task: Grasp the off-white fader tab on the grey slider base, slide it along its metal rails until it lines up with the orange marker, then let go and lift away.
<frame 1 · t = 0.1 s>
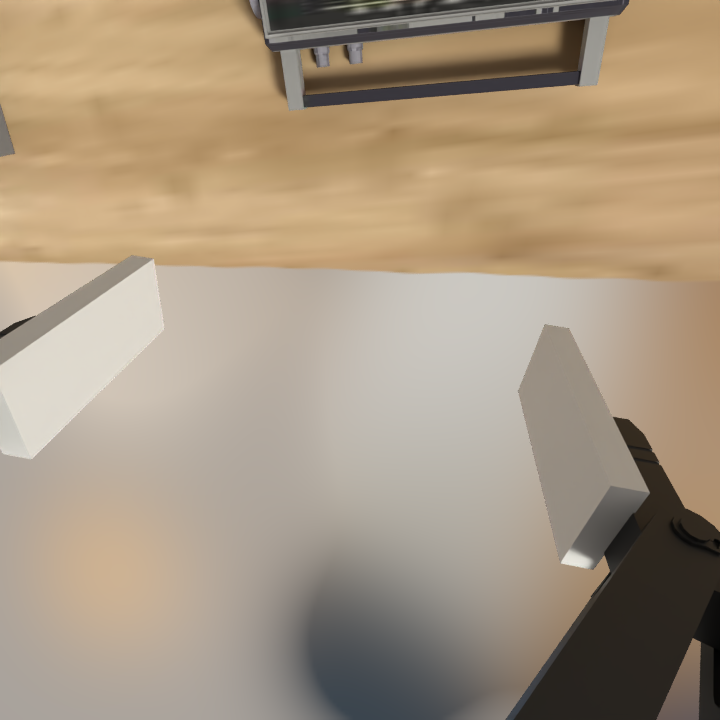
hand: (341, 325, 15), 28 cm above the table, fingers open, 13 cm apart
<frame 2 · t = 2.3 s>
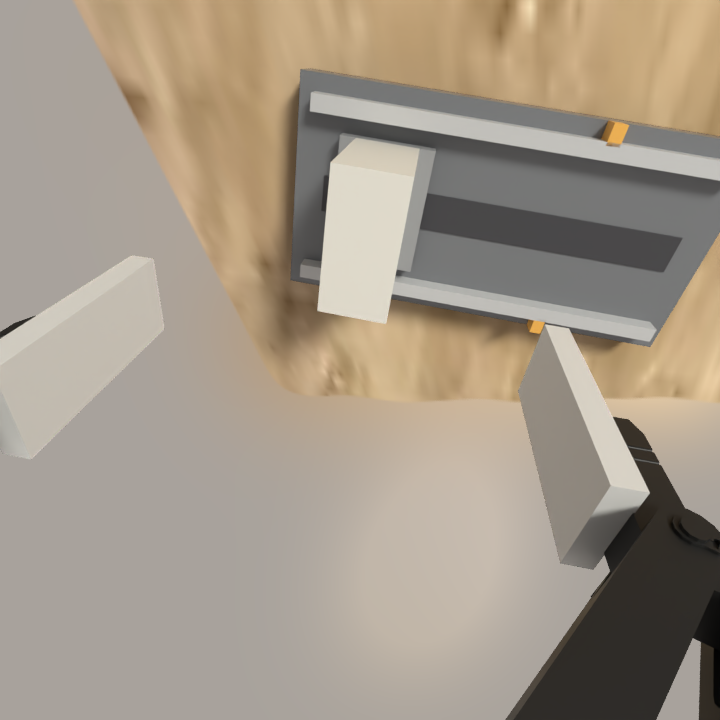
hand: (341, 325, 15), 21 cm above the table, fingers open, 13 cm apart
fader tab: (371, 224, 27), point 7 cm above the table, slide at -8.0 cm
grey slider base: (491, 213, 33), on the table
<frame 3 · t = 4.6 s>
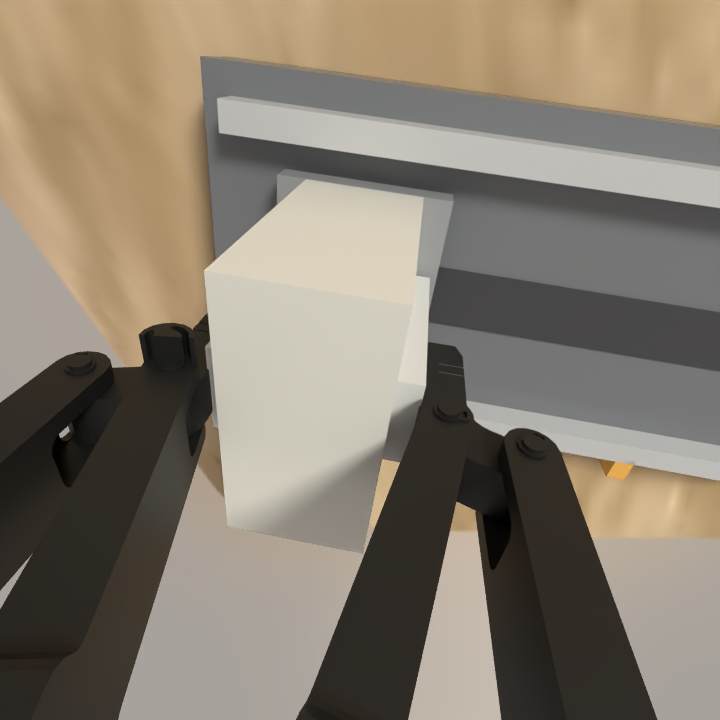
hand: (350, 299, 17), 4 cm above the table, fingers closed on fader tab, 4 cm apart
fader tab: (335, 342, 14), point 7 cm above the table, slide at -8.0 cm, touching gripper
grey slider base: (542, 288, 20), on the table
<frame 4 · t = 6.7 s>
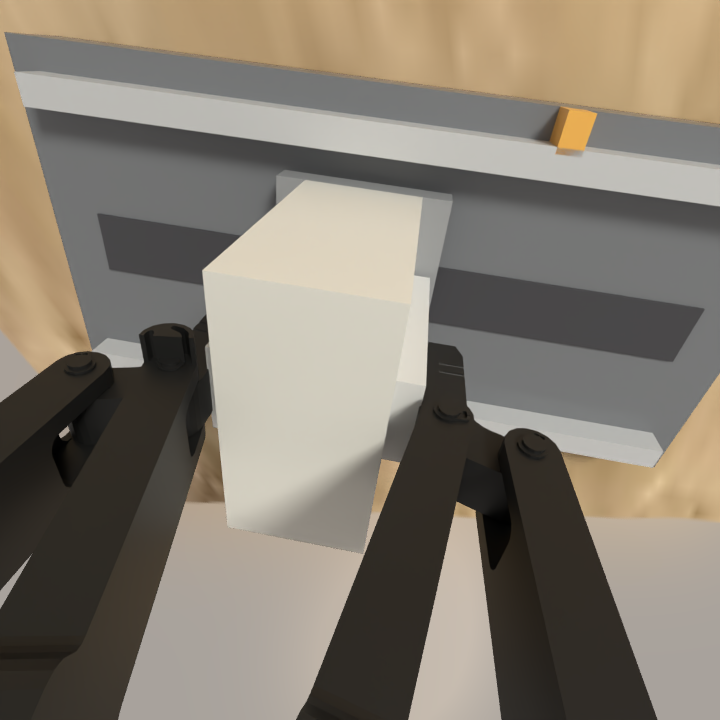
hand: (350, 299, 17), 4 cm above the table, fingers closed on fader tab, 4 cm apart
fader tab: (334, 342, 14), point 7 cm above the table, slide at -1.1 cm, touching gripper
grey slider base: (390, 264, 20), on the table
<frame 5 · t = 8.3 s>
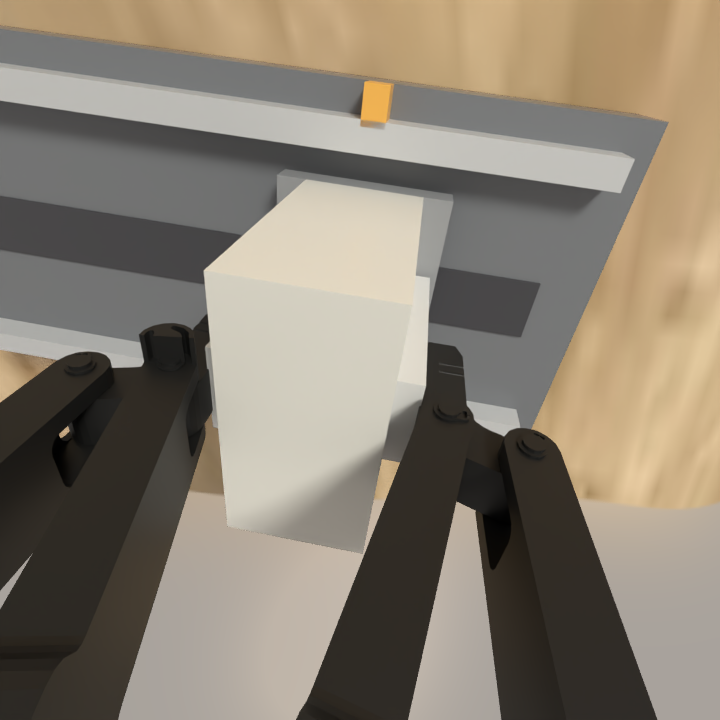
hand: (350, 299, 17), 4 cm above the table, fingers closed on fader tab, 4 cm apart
fader tab: (334, 342, 14), point 7 cm above the table, slide at 5.0 cm, touching gripper
grey slider base: (259, 242, 21), on the table
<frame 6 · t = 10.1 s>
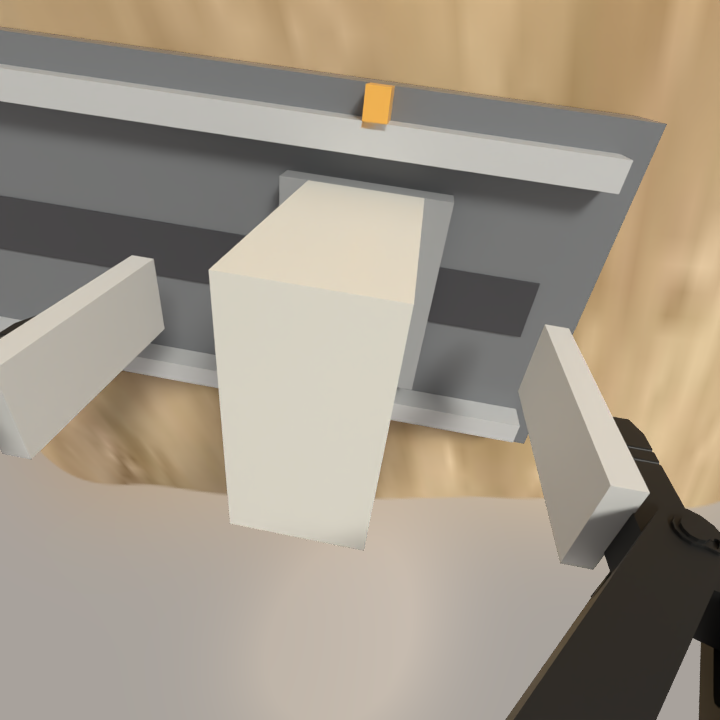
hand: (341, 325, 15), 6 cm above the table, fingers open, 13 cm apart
fader tab: (336, 342, 14), point 7 cm above the table, slide at 5.0 cm
grey slider base: (260, 242, 21), on the table
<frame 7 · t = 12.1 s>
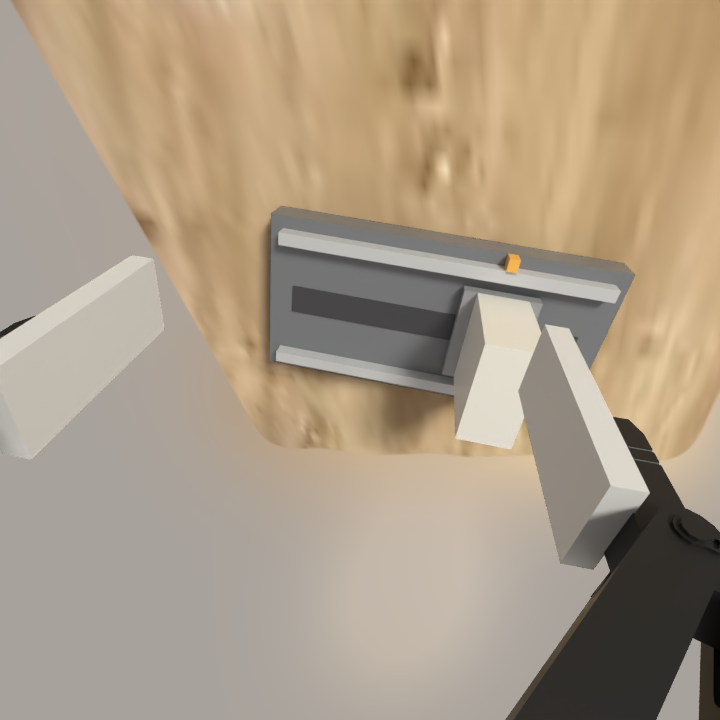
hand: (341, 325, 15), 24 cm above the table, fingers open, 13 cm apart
fader tab: (493, 364, 34), point 7 cm above the table, slide at 5.0 cm
grey slider base: (430, 310, 40), on the table
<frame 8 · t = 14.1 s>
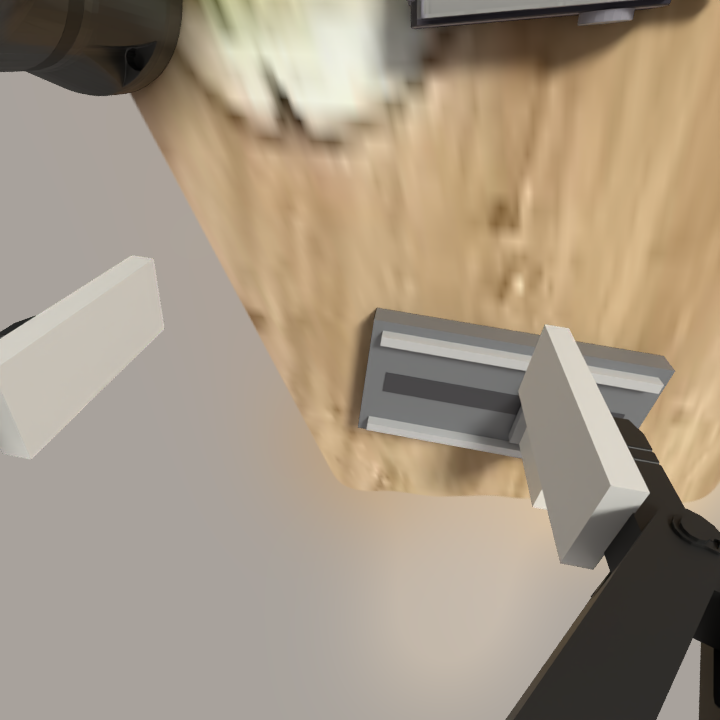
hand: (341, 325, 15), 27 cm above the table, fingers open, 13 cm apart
fader tab: (559, 444, 41), point 7 cm above the table, slide at 5.0 cm
grey slider base: (497, 387, 48), on the table
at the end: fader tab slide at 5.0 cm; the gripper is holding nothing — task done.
